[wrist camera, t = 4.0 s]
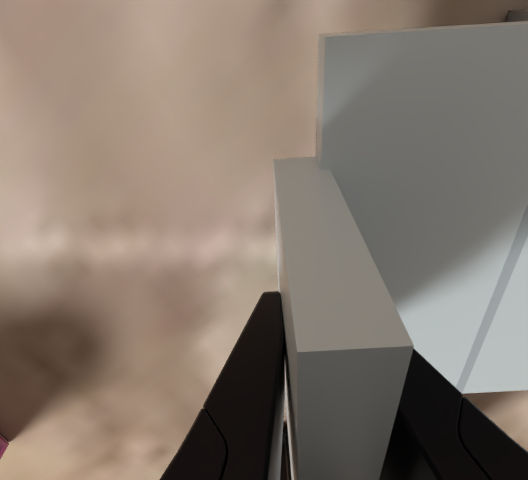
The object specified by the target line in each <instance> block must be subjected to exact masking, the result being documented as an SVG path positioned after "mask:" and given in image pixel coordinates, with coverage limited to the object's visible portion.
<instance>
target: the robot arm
mask: <svg viewBox="0 0 528 480" xmlns="http://www.w3.org/2000/svg"><path fill="white" fill-rule="evenodd" d="M284 399H285V350H284V320H283V311H282V302H281V294H280V292H278V291H273V292H264V293H263V294H262V295H261V297H260V299H259V301H258V303H257V305H256V307H255V308H254V310H253V312H252V314H251V316H250V318H249V320H248V322H247V324H246V325H245V327H244V329H243V331H242V333H241V335H240V337H239V339H238V341H237V342H236V344H235V346H234V348H233V350H232V352H231V354H230V356H229V358H228V360H227V361H226V363H225V365H224V367H223V369H222V371H221V373H220V375H219V377H218V378H217V380H216V382H215V384H214V386H213V388H212V390H211V392H210V394H209V395H208V397H207V399H206V401H205V403H204V405H203V408H202V409H201V410H200V412H199V414H198V416H197V418H196V420H195V422H194V423H193V425H192V427H191V429H190V431H189V432H188V434H187V436H186V438H185V439H184V441H183V443H182V445H181V447H180V448H179V450H178V452H177V453H176V455H175V456H174V458H173V460H172V461H171V463H170V464H169V466H168V467H167V469H166V470H165V472H164V474H163V475H162V477H161V478H160V480H292V477H291V464H290V452H289V440H288V428H283V417H284ZM379 480H528V452H527V451H526V450H525V449H524V448H522V447H521V446H520V445H519V444H518V443H516V442H515V441H514V440H513V439H512V438H510V437H509V436H508V435H507V434H506V433H505V432H504V431H503V430H501V429H500V428H499V427H498V426H497V425H496V424H495V423H494V422H493V421H491V420H490V419H489V418H488V417H487V416H486V415H485V414H484V413H483V412H481V411H480V410H479V409H478V408H477V407H476V406H475V405H474V404H473V403H472V402H471V401H470V400H469V399H468V398H466V397H463V394H462V393H461V392H460V391H459V390H458V389H457V388H456V387H455V386H454V385H452V384H451V383H450V382H449V381H448V380H447V379H446V378H445V377H444V376H443V375H442V374H441V373H440V372H439V371H438V370H436V369H435V368H434V367H433V366H432V365H431V364H430V363H429V362H428V361H427V360H426V359H425V358H424V357H423V356H422V355H420V354H419V353H418V352H417V351H416V350H415V349H414V348H413V352H412V355H411V359H410V363H409V367H408V371H407V375H406V378H405V382H404V386H403V390H402V394H401V397H400V401H399V405H398V409H397V413H396V417H395V420H394V424H393V428H392V432H391V436H390V439H389V443H388V447H387V451H386V455H385V459H384V462H383V466H382V470H381V474H380V478H379Z"/></svg>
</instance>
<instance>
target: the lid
mask: <svg viewBox="0 0 528 480" xmlns="http://www.w3.org/2000/svg"><path fill="white" fill-rule="evenodd" d="M273 174H274V198H275V223H276V247H277V271H278V292H280V294H281V302H282V311H283V320H284V350H285V402H286V415H287V427H288V440H289V452H290V464H291V477H292V480H379V478H380V474H381V470H382V466H383V462H384V459H385V455H386V451H387V447H388V443H389V439H390V436H391V432H392V428H393V424H394V420H395V417H396V413H397V409H398V405H399V401H400V397H401V394H402V390H403V386H404V382H405V378H406V375H407V371H408V367H409V363H410V359H411V355H412V352H413V348H414V349H415V350H416V351H417V352H418V353H419V354H420V355H422V356H423V357H424V358H425V359H426V360H427V361H428V362H429V363H430V364H431V365H432V366H433V367H434V368H435V369H436V370H438V371H439V372H440V373H441V374H442V375H443V376H444V377H445V378H446V379H447V380H448V381H449V382H450V383H451V384H452V385H454V386H455V387H456V388H457V389H458V390H459V391H460V392H461V393H462V394H466V393H484V392H503V391H522V390H528V21H519V22H503V23H487V24H471V25H455V26H439V27H423V28H407V29H391V30H375V31H360V32H344V33H328V34H319V42H318V79H317V117H316V154H315V157H304V158H287V159H273Z"/></svg>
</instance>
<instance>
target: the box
mask: <svg viewBox="0 0 528 480" xmlns="http://www.w3.org/2000/svg"><path fill="white" fill-rule="evenodd" d="M8 445H9V443H8V442H7V441H6V439H4V438H3V437H2V436H1V435H0V459H1V457H2V455H3V454H4V452H5V450H6V448H7V447H8Z"/></svg>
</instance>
